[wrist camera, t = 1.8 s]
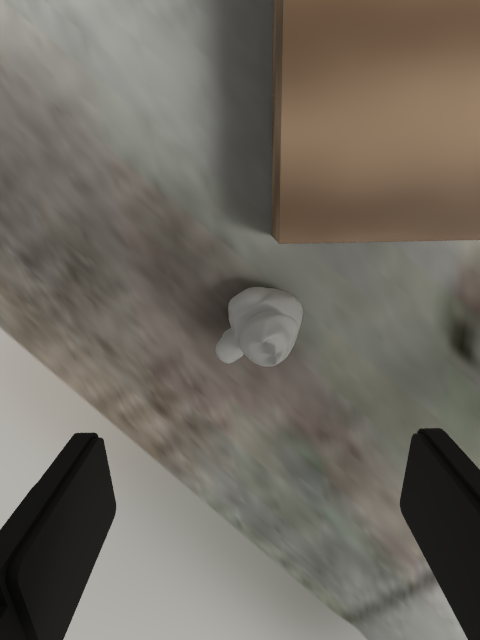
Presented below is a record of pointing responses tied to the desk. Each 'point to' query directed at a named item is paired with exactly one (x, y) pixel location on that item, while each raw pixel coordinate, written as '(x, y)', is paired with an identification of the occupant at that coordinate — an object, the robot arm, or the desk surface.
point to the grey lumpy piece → (261, 326)
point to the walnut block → (376, 121)
